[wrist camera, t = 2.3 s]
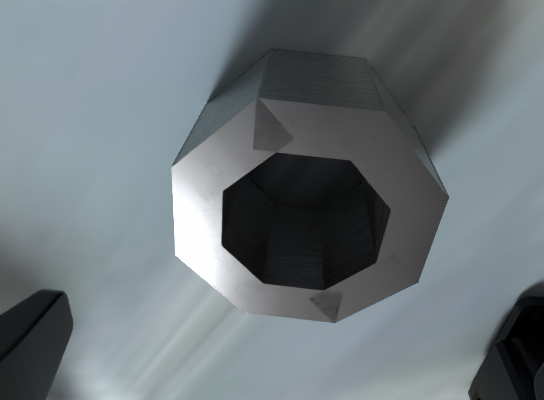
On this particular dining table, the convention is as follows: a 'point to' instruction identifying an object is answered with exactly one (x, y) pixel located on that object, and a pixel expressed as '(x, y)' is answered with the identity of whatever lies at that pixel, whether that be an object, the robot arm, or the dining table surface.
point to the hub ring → (299, 219)
